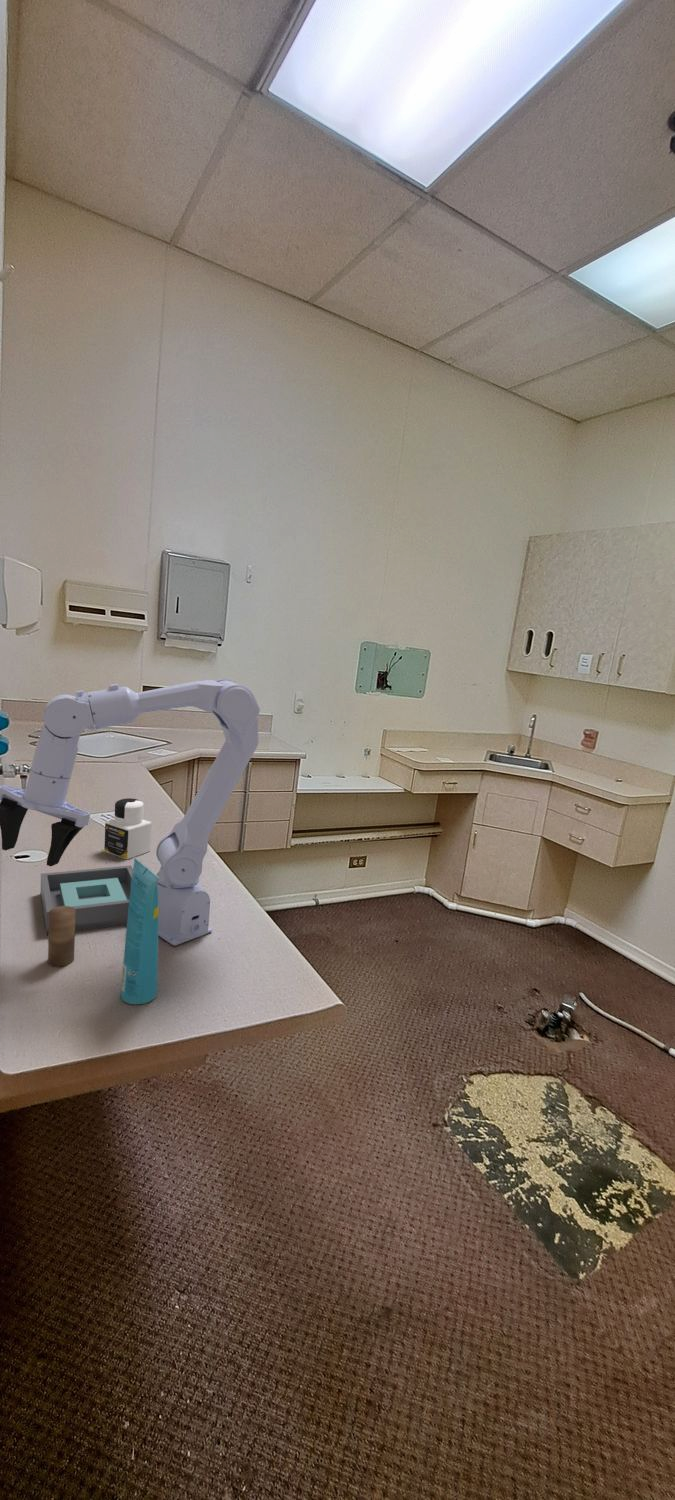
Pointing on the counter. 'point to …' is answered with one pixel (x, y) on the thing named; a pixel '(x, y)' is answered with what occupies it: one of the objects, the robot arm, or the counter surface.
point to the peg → (61, 936)
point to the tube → (141, 938)
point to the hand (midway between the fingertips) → (30, 856)
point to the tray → (89, 895)
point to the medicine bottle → (128, 830)
